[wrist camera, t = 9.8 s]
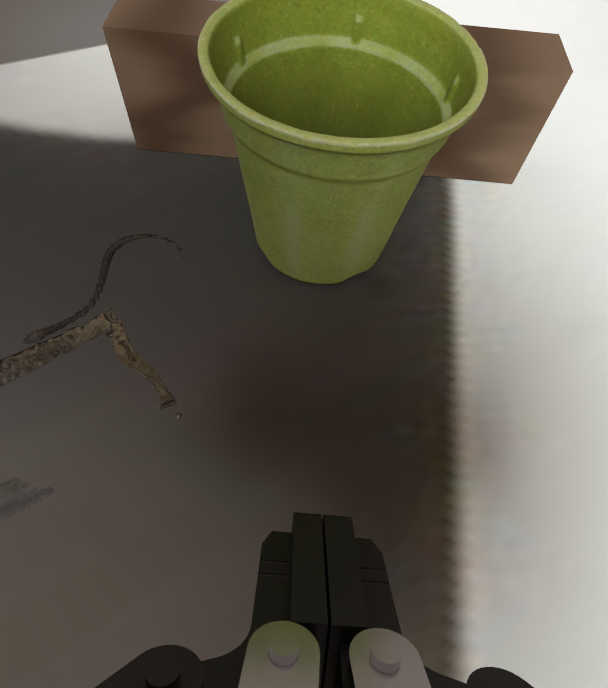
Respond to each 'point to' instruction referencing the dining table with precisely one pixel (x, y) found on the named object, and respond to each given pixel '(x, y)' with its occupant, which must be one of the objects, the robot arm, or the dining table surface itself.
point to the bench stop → (217, 138)
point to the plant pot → (336, 118)
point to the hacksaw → (17, 492)
